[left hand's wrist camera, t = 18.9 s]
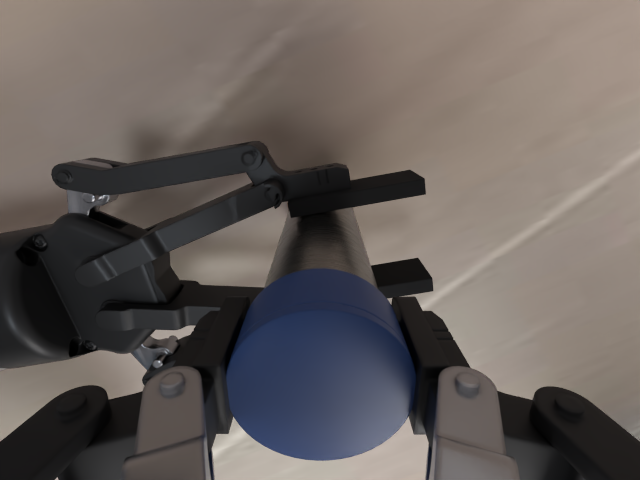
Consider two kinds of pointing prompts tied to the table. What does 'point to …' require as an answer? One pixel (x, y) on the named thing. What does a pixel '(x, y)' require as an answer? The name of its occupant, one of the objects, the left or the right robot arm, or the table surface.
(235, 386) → the lid
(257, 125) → the table surface
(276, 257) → the metal thermos flask
